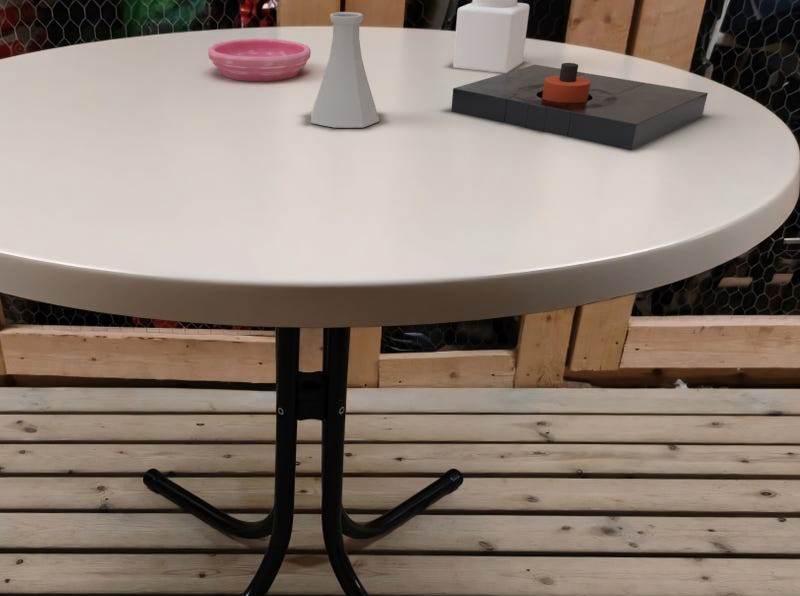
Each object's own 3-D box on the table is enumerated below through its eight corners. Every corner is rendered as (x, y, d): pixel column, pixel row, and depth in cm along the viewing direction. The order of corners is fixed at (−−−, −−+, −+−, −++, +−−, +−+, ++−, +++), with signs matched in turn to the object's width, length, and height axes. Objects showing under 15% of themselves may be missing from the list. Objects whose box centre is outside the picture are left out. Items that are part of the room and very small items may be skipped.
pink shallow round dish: (290, 60, 109) (290, 34, 108) (325, 80, 100) (325, 52, 98) (198, 67, 106) (196, 41, 104) (225, 89, 96) (224, 60, 94)
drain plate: (701, 118, 85) (707, 92, 84) (630, 152, 75) (635, 124, 74) (531, 86, 97) (534, 64, 96) (450, 113, 87) (452, 88, 86)
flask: (387, 115, 86) (392, 10, 81) (369, 133, 81) (373, 22, 75) (321, 109, 88) (321, 7, 83) (299, 127, 82) (298, 18, 77)
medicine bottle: (523, 63, 108) (536, -40, 101) (506, 74, 102) (519, -35, 96) (470, 58, 110) (479, -43, 104) (451, 68, 105) (460, -38, 99)
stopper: (591, 121, 84) (601, 64, 81) (569, 129, 82) (579, 71, 79) (552, 113, 87) (561, 57, 84) (530, 121, 84) (538, 64, 81)
